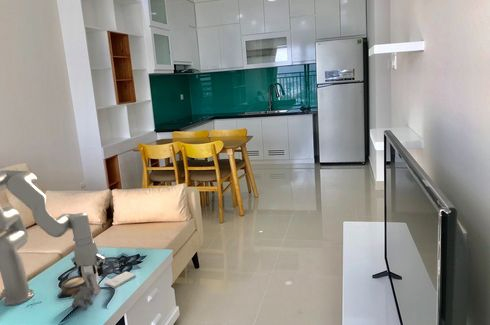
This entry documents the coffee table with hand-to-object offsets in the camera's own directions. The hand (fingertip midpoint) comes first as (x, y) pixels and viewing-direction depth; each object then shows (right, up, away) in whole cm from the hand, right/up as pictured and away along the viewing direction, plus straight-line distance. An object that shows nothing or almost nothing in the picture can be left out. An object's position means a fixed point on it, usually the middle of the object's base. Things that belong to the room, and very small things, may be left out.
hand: (91, 274), depth 186 cm
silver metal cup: (0, -9, +2) cm, 9 cm away
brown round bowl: (-10, -9, +8) cm, 15 cm away
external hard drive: (+10, -6, +11) cm, 16 cm away
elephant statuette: (0, -11, -7) cm, 13 cm away
